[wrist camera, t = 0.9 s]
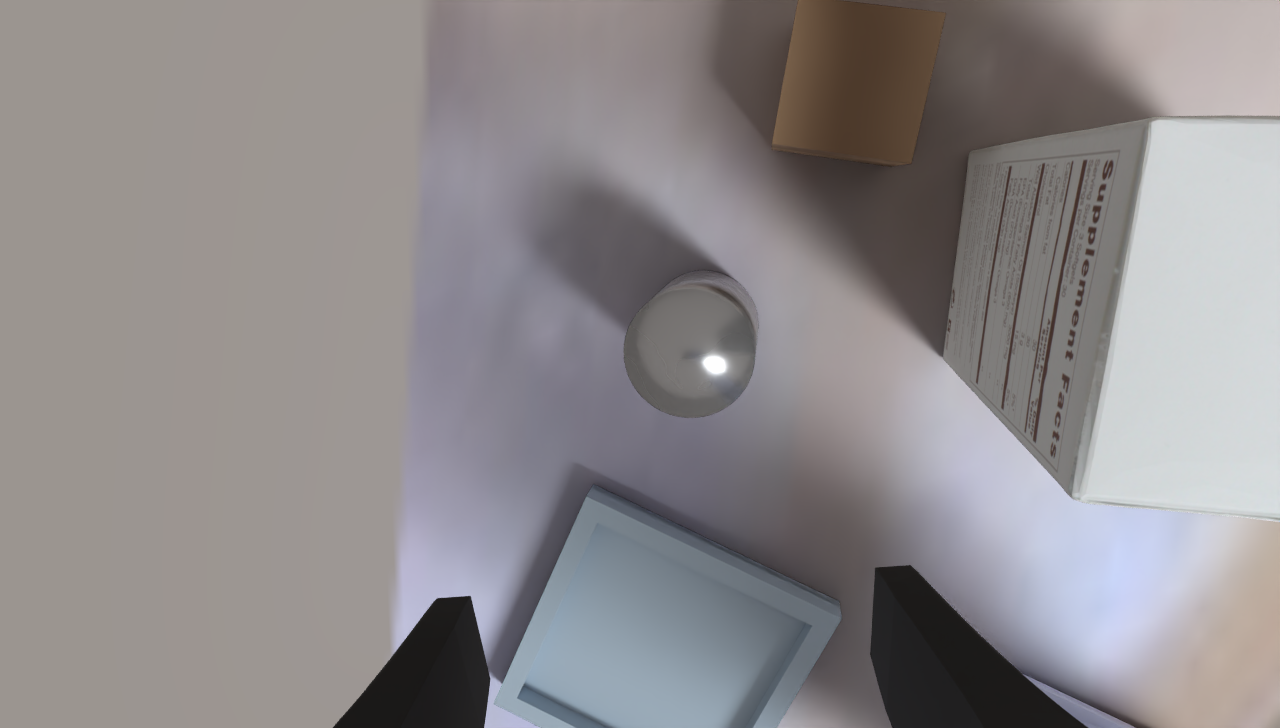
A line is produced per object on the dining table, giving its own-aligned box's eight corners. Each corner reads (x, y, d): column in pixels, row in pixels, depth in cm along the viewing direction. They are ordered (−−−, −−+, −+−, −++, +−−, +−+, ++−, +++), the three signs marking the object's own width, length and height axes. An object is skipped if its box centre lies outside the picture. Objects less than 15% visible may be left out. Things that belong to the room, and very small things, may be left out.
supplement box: (1211, 151, 23) (1687, 117, 11) (1160, 379, 25) (1523, 562, 13) (963, 143, 24) (1152, 103, 12) (932, 361, 26) (1071, 514, 14)
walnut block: (918, 40, 24) (946, 12, 20) (889, 166, 25) (911, 163, 21) (794, 25, 25) (798, -5, 21) (771, 149, 26) (771, 143, 22)
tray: (839, 601, 29) (841, 618, 28) (724, 795, 32) (722, 818, 31) (593, 484, 30) (586, 496, 28) (503, 685, 32) (493, 703, 31)
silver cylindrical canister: (777, 298, 27) (777, 323, 22) (730, 395, 28) (720, 438, 23) (676, 252, 27) (654, 267, 22) (633, 349, 28) (604, 384, 23)
